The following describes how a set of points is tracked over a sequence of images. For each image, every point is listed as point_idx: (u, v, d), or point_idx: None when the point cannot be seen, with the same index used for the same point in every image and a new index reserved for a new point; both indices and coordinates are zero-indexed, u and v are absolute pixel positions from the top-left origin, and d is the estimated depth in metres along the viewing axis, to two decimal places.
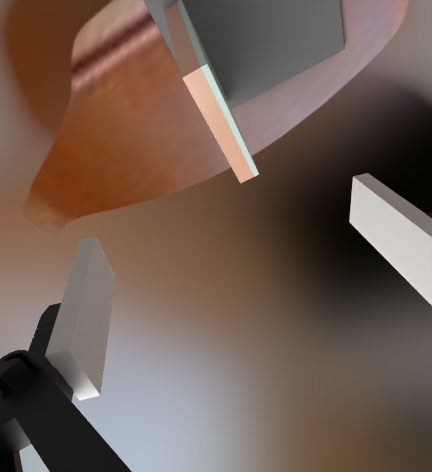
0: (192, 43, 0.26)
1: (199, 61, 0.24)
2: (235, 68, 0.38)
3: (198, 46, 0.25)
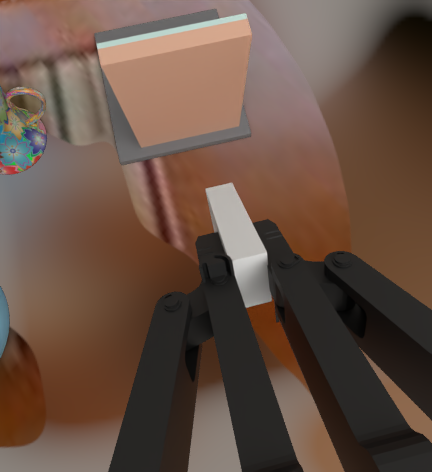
0: None
1: None
2: None
3: None
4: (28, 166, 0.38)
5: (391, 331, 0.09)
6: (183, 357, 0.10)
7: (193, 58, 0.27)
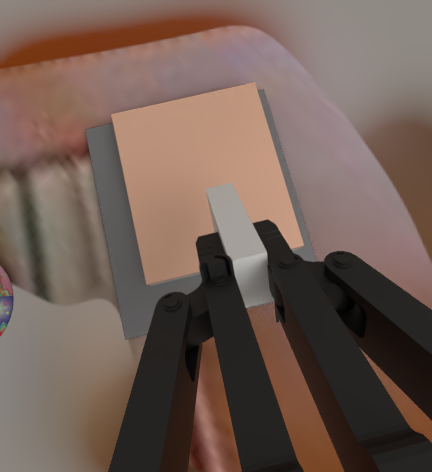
0: None
1: None
2: None
3: None
4: None
5: (391, 331, 0.09)
6: (183, 357, 0.10)
7: (201, 108, 0.26)
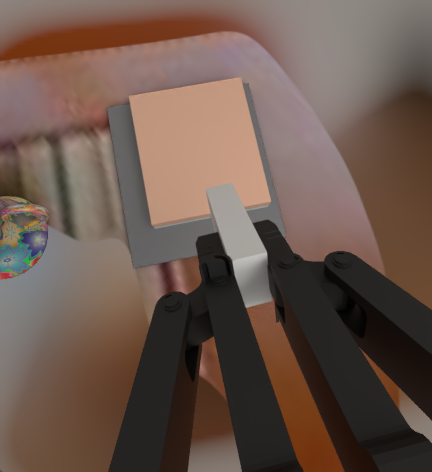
0: None
1: None
2: None
3: None
4: (25, 270, 0.32)
5: (391, 331, 0.09)
6: (183, 357, 0.10)
7: (198, 95, 0.34)
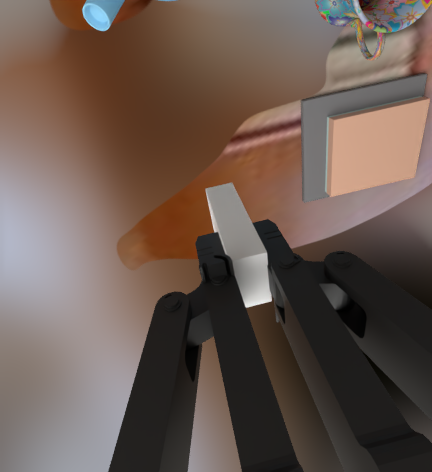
0: (395, 102, 0.46)
1: (416, 97, 0.47)
2: None
3: (400, 100, 0.47)
4: (317, 7, 0.39)
5: (391, 331, 0.09)
6: (183, 357, 0.10)
7: (412, 150, 0.49)
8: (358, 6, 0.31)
